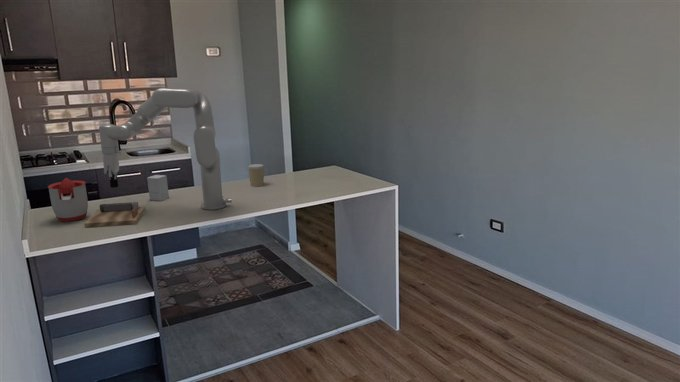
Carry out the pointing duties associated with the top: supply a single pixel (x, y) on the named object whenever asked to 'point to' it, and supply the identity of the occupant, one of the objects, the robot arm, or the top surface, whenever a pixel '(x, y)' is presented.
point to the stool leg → (118, 206)
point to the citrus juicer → (69, 200)
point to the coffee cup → (256, 175)
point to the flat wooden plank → (115, 217)
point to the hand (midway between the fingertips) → (114, 187)
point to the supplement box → (158, 187)
